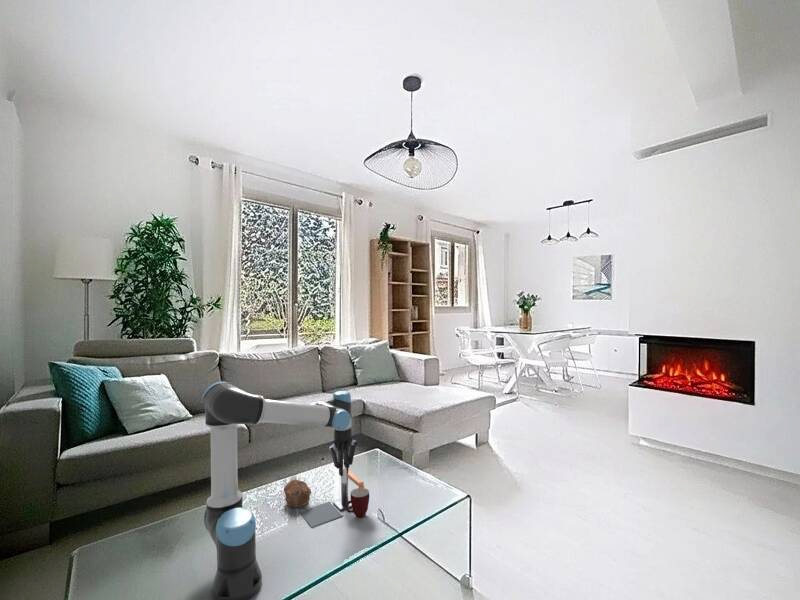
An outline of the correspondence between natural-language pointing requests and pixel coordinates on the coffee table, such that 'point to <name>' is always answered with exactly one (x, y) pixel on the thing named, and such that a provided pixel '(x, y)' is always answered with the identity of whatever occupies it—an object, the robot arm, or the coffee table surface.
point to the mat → (320, 514)
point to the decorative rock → (297, 493)
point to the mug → (358, 502)
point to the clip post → (343, 498)
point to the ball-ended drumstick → (355, 480)
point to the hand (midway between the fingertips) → (343, 482)
